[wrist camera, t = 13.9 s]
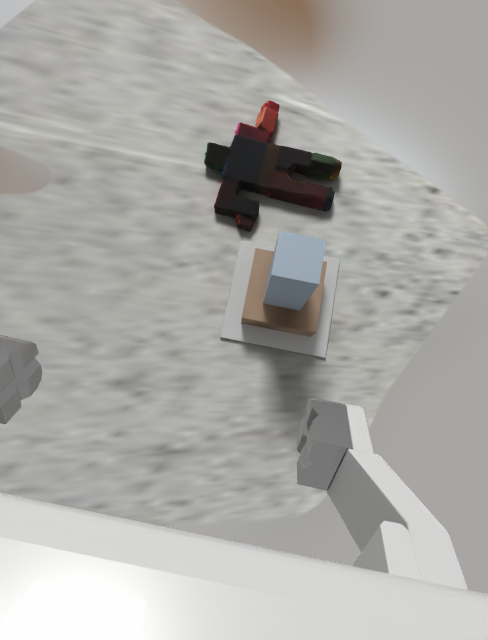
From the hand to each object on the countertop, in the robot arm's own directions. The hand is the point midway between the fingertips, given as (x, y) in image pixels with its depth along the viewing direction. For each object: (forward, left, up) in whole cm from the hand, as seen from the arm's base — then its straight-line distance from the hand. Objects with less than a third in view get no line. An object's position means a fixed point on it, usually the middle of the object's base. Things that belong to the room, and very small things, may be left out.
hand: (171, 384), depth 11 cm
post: (+5, +12, -26) cm, 29 cm away
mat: (+5, +12, -29) cm, 32 cm away
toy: (+1, +27, -30) cm, 41 cm away
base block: (+5, +12, -29) cm, 32 cm away
